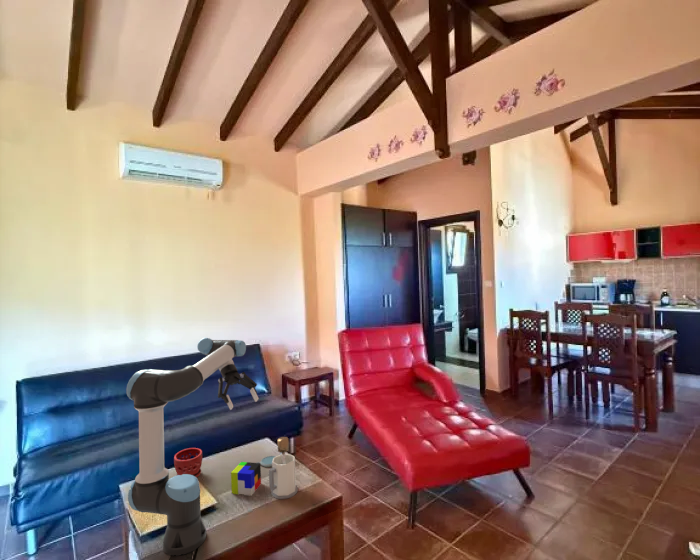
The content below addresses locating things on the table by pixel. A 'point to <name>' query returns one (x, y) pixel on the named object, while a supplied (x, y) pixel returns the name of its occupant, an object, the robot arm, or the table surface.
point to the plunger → (283, 447)
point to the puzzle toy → (246, 478)
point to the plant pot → (188, 462)
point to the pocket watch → (267, 461)
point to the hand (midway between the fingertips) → (244, 404)
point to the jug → (283, 477)
